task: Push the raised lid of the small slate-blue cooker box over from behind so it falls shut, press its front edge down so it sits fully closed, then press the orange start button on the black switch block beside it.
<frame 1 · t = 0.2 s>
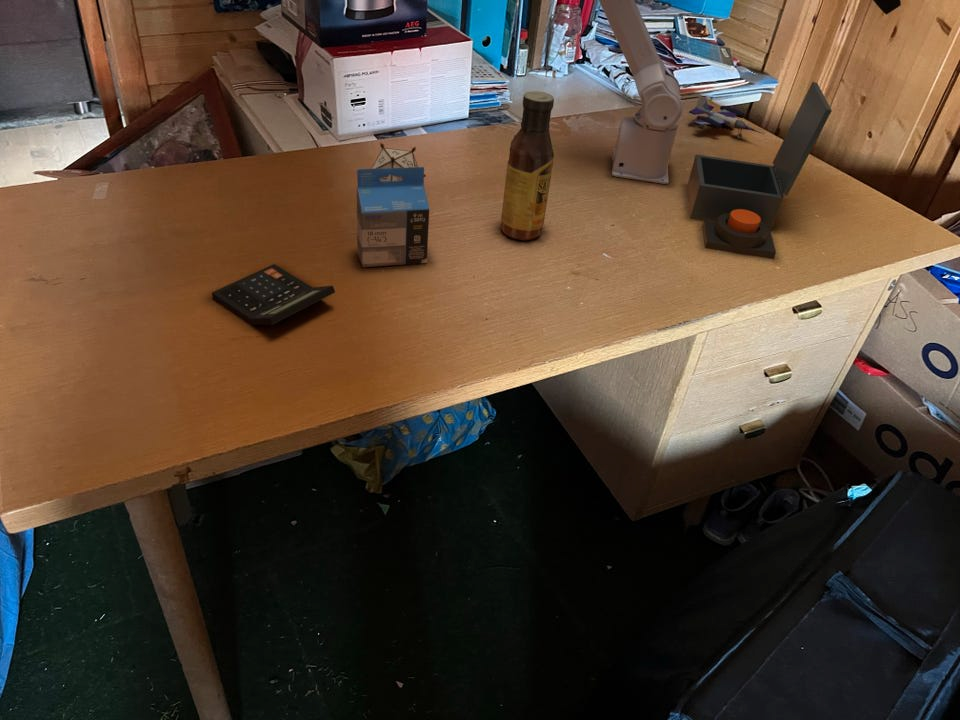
hand: (886, 2, 108), 31 cm above the table, tool tilted 45°, fingers open, 7 cm apart
calculator: (274, 304, 92), on the table
game die: (395, 199, 115), on the table
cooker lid: (800, 138, 113), point 13 cm above the table, hinge at 97.0°
start button: (743, 221, 111), point 3 cm above the table, slide at 0.1 cm
toy airplane: (720, 132, 147), on the table
tape cartridge: (392, 260, 102), on the table
switch block: (736, 242, 113), on the table
cooker: (727, 208, 122), on the table
sauce bottle: (521, 232, 111), on the table
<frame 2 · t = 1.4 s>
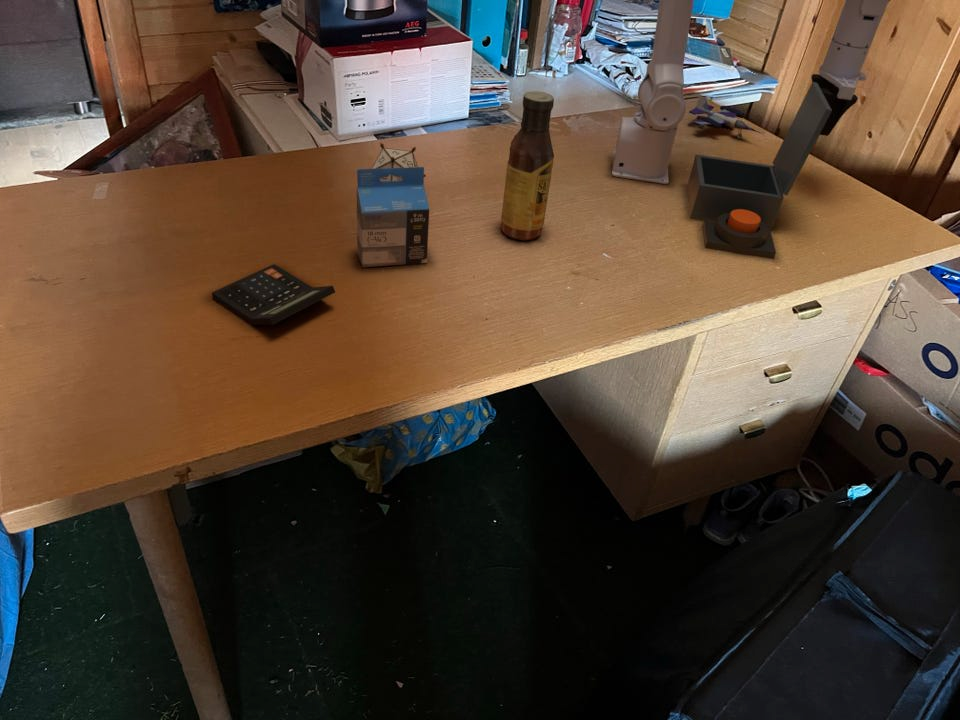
hand: (818, 127, 124), 10 cm above the table, tool pointing down, fingers open, 5 cm apart
nothing on the table moved.
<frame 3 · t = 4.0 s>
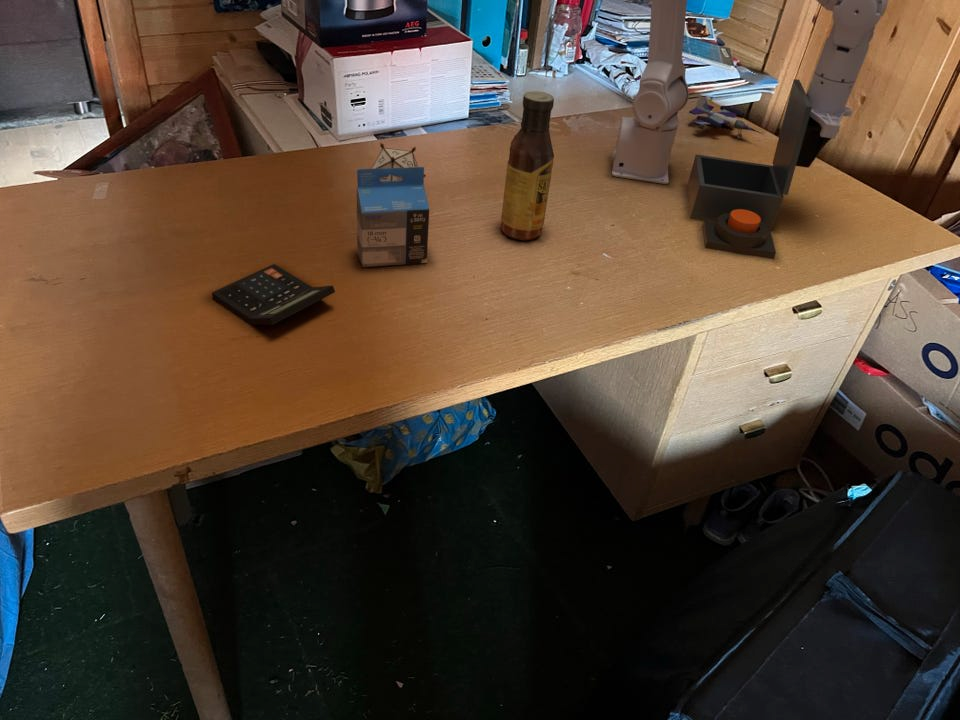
hand: (801, 165, 116), 9 cm above the table, tool pointing down, fingers closed, pressing on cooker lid
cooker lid: (790, 136, 113), point 13 cm above the table, hinge at 85.2°, touching gripper
everything else where it was.
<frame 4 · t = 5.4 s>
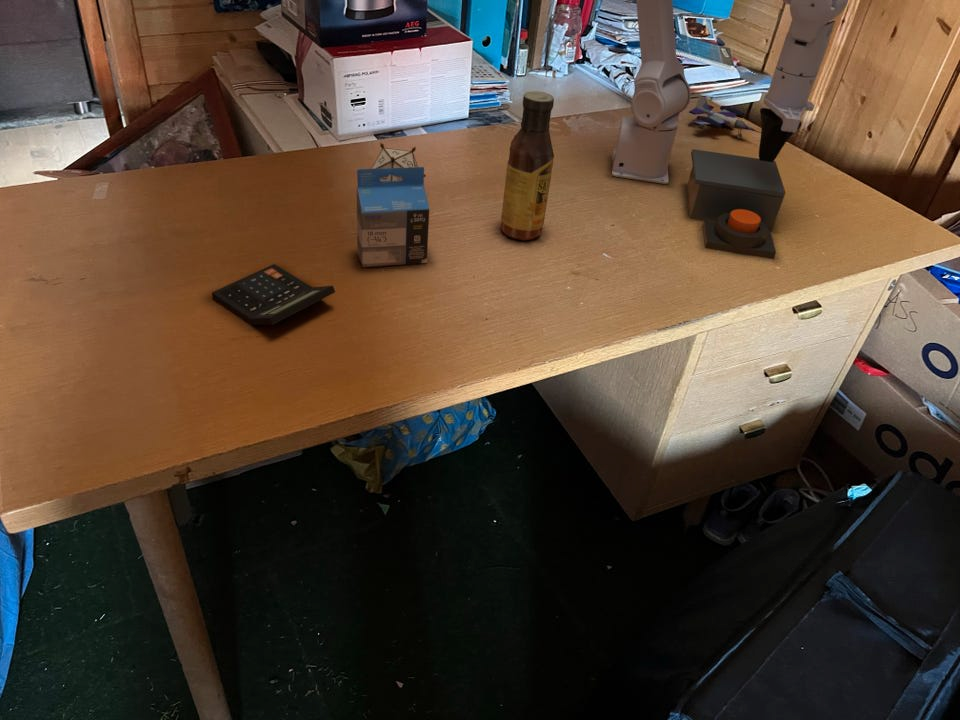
hand: (765, 159, 116), 9 cm above the table, tool pointing down, fingers closed
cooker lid: (736, 172, 118), point 6 cm above the table, hinge at -0.2°
everything else where it was.
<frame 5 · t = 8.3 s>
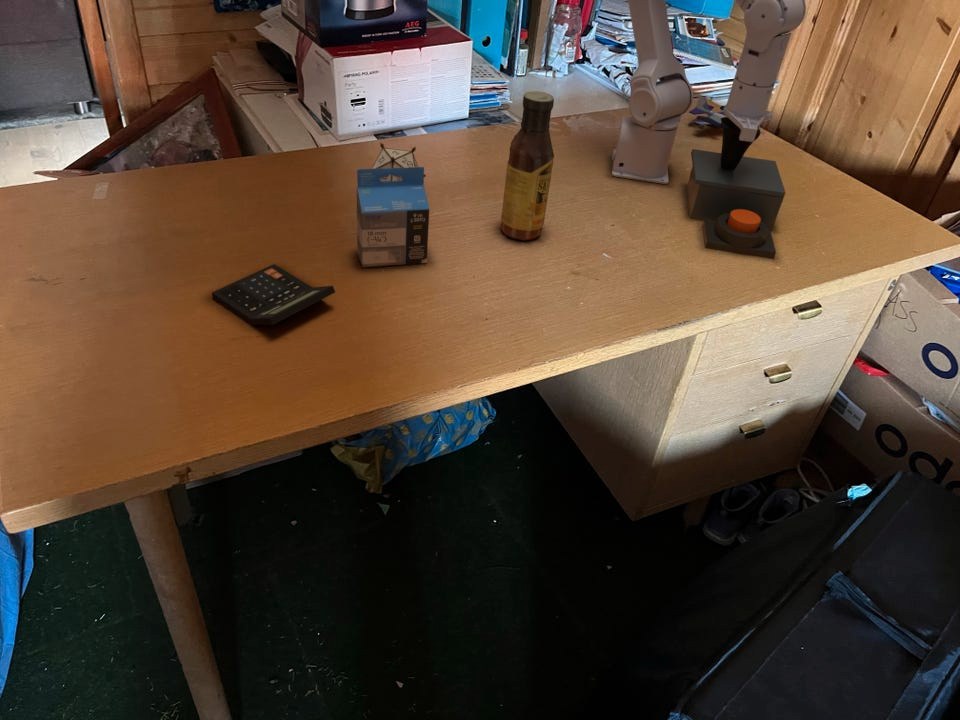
hand: (727, 167, 118), 7 cm above the table, tool pointing down, fingers closed
nothing on the table moved.
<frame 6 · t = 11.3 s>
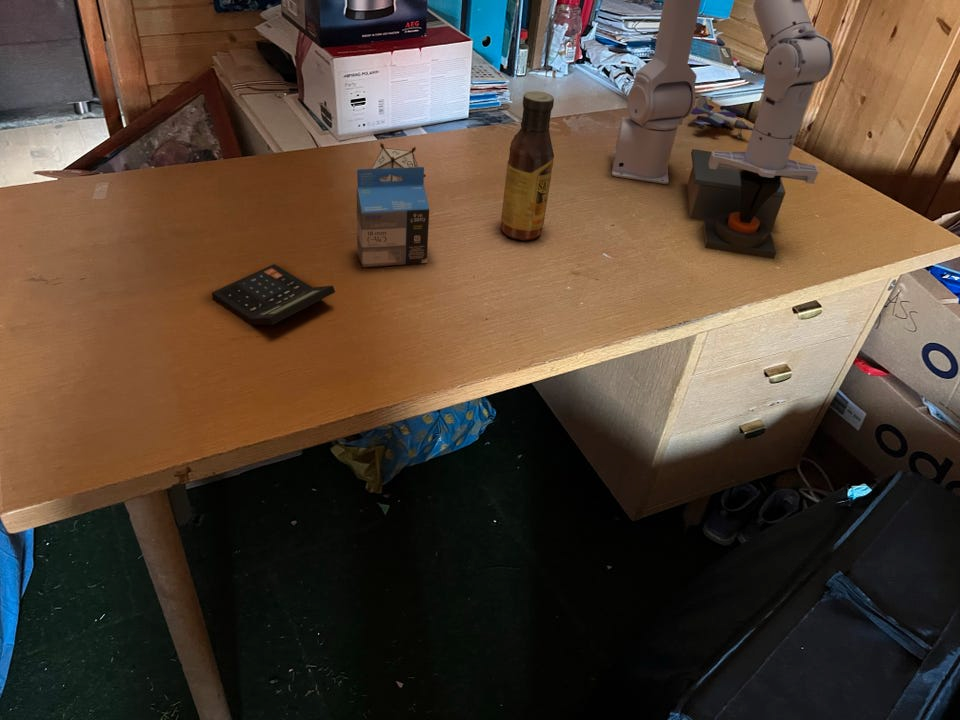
hand: (744, 219, 111), 4 cm above the table, tool pointing down, fingers closed, pressing on start button
start button: (742, 224, 111), point 3 cm above the table, slide at -0.4 cm, touching gripper
everything else where it was.
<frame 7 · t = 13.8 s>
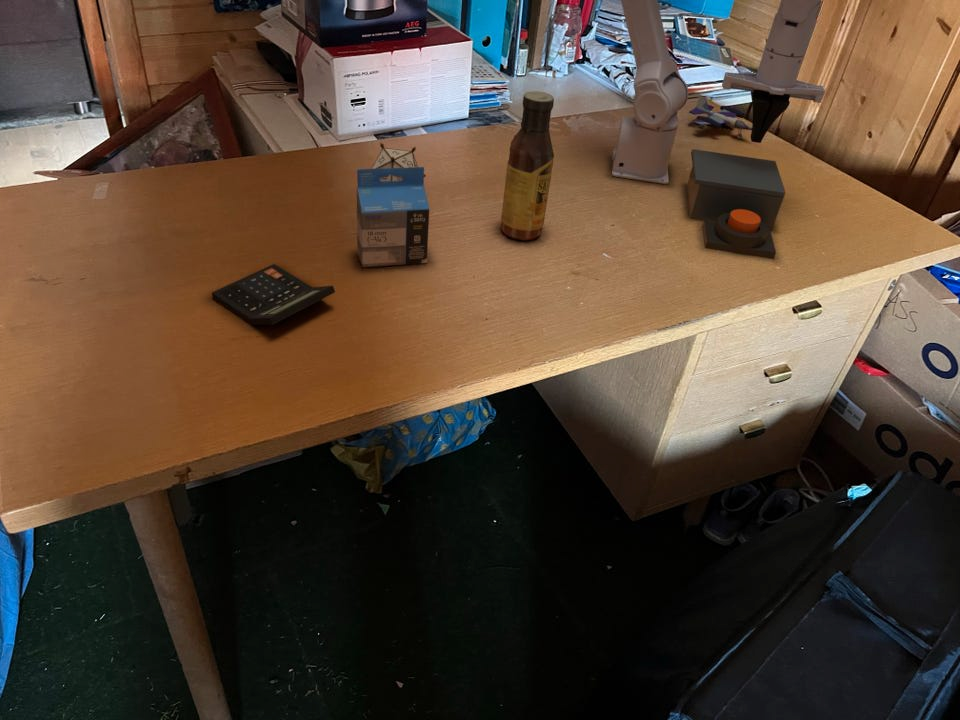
hand: (755, 140, 118), 10 cm above the table, tool pointing down, fingers closed
start button: (743, 221, 111), point 3 cm above the table, slide at 0.1 cm
everything else where it was.
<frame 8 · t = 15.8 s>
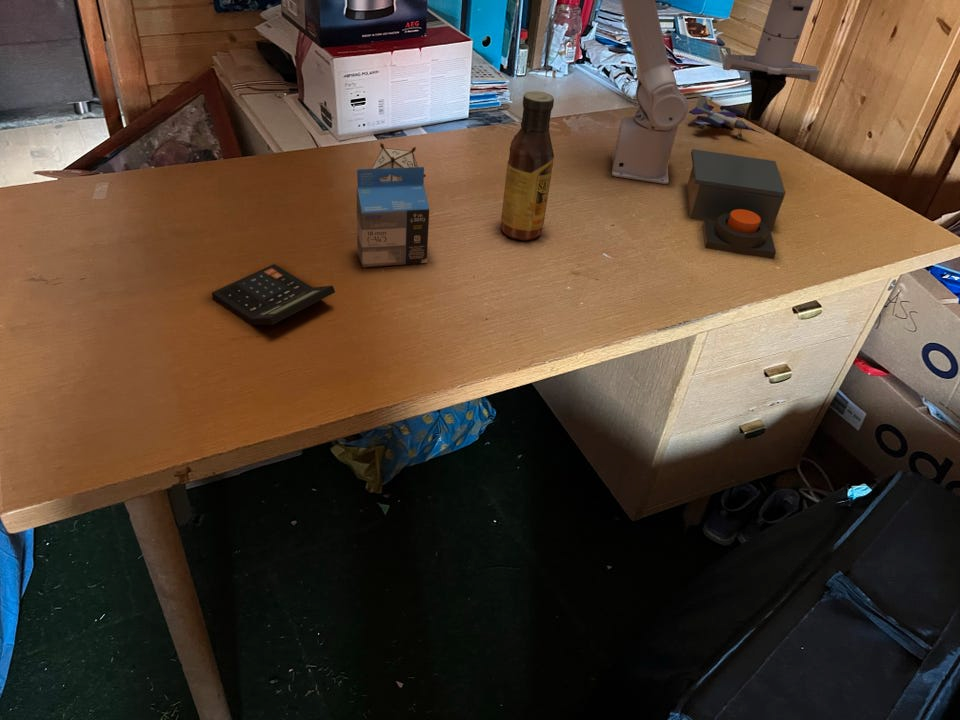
hand: (754, 118, 125), 10 cm above the table, tool pointing down, fingers closed
nothing on the table moved.
at the end: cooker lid at +0° (first picture: +97°); start button pushed in 1.2 cm at the most during the clip, back to where it started at the end; start button slide at 0.1 cm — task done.
